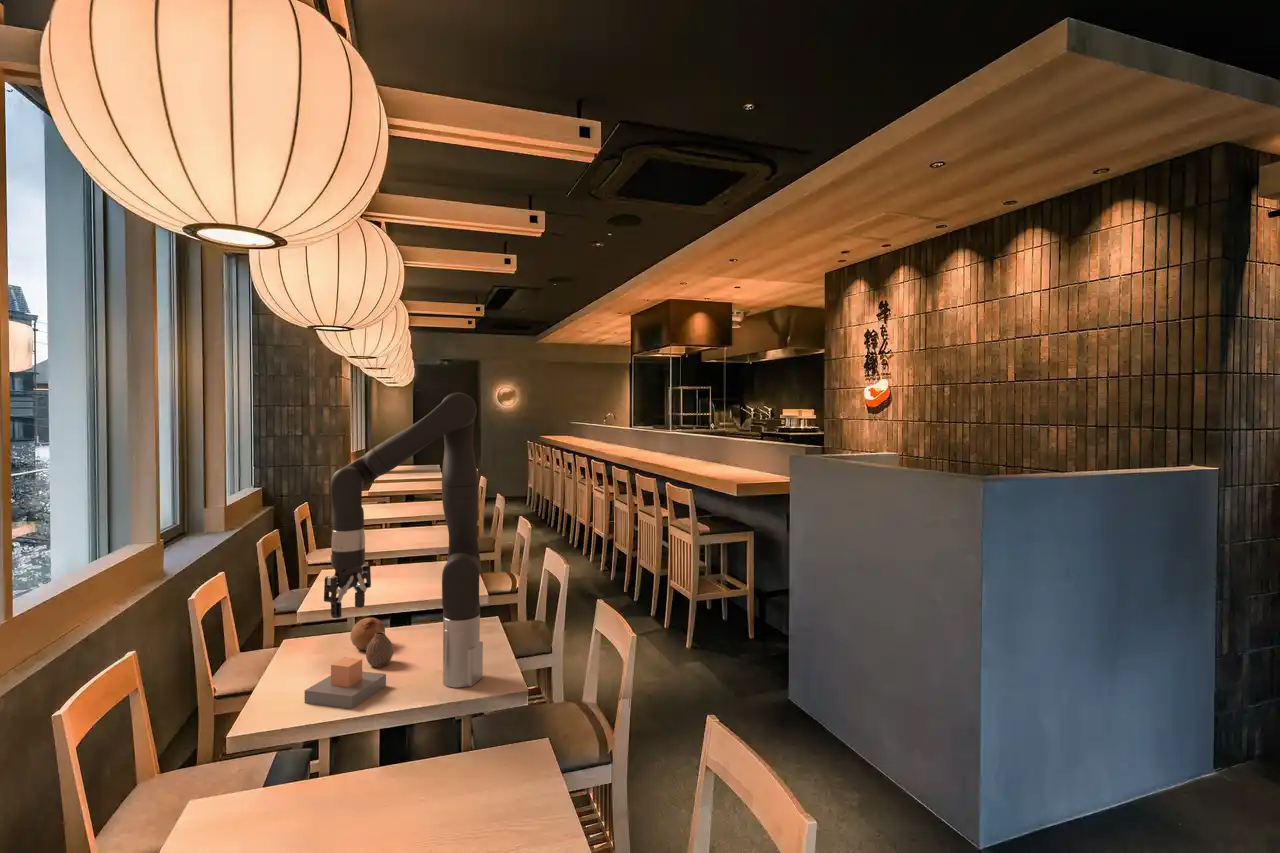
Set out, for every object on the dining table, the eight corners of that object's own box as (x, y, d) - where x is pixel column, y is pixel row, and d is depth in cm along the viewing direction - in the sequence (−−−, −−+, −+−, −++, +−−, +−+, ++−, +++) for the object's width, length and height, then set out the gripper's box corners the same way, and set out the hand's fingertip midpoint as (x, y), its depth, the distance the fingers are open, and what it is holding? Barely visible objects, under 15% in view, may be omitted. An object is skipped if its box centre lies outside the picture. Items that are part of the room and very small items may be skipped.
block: (362, 678, 155) (362, 659, 155) (348, 687, 150) (348, 666, 150) (344, 676, 156) (345, 657, 156) (330, 685, 151) (330, 664, 151)
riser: (386, 685, 158) (386, 674, 158) (351, 709, 145) (352, 696, 145) (341, 680, 161) (341, 669, 161) (304, 702, 148) (304, 690, 148)
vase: (397, 660, 175) (397, 629, 174) (385, 670, 168) (385, 638, 168) (374, 659, 175) (374, 628, 175) (360, 668, 168) (361, 636, 168)
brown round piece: (373, 661, 181) (378, 635, 177) (342, 652, 181) (346, 626, 177) (388, 639, 190) (392, 614, 186) (358, 630, 190) (362, 605, 186)
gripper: (342, 554, 145) (342, 622, 146) (379, 542, 159) (379, 604, 159) (314, 552, 147) (314, 620, 147) (354, 540, 161) (354, 602, 161)
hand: (348, 612), depth 153 cm, fingers open, 8 cm apart
